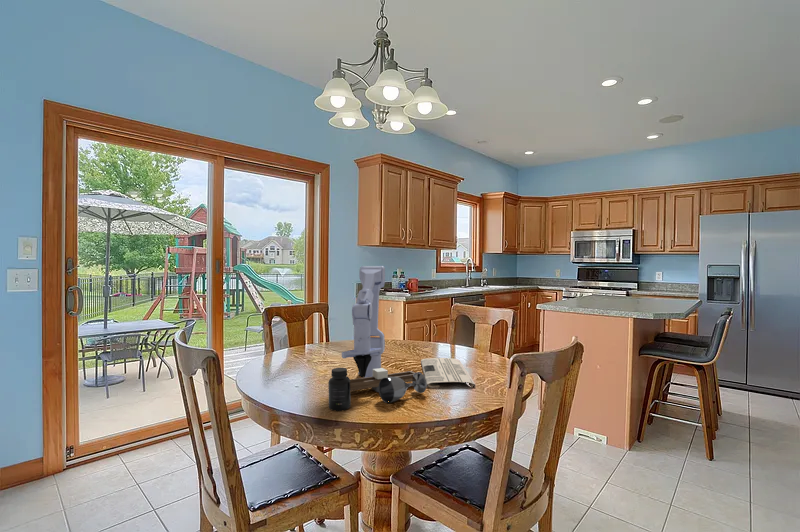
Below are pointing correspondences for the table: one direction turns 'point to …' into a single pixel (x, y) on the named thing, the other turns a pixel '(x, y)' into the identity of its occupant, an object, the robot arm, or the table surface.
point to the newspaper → (444, 371)
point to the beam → (377, 381)
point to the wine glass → (400, 387)
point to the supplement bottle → (339, 390)
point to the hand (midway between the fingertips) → (362, 376)
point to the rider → (380, 373)
